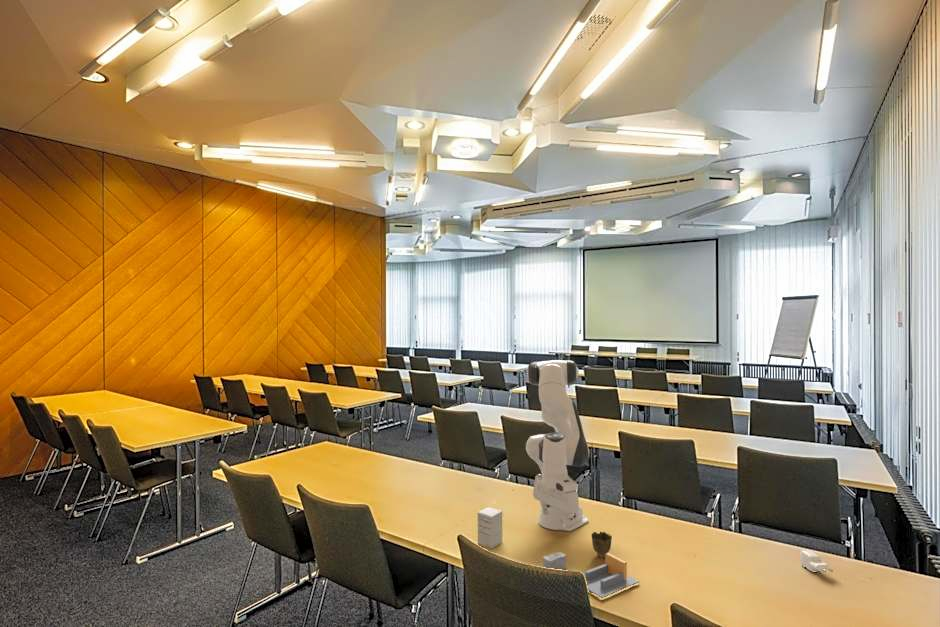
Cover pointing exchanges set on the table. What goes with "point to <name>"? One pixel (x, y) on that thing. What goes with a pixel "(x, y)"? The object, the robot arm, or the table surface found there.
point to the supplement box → (489, 527)
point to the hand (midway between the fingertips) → (554, 518)
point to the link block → (555, 561)
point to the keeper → (609, 577)
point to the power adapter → (813, 561)
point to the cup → (601, 543)
